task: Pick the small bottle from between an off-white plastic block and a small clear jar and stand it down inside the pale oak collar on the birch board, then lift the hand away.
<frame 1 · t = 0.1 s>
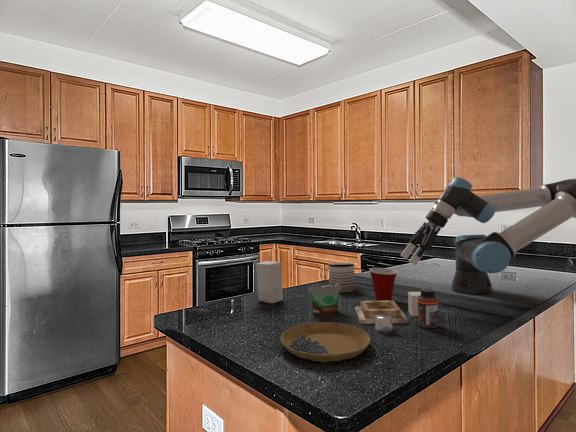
hand: (407, 260, 145), 15 cm above the counter, tool tilted 35°, fingers open, 13 cm apart
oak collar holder: (379, 316, 127), on the counter
off-white block: (417, 314, 128), on the counter
small clear jar: (383, 329, 114), on the counter
skincare box: (270, 301, 152), on the counter
supplement bottle: (428, 326, 116), on the counter
plant saucer: (325, 348, 103), on the counter
food container: (328, 314, 132), on the counter
off-white ribbed cylinder: (342, 289, 167), on the counter
plastic cup: (384, 300, 147), on the counter
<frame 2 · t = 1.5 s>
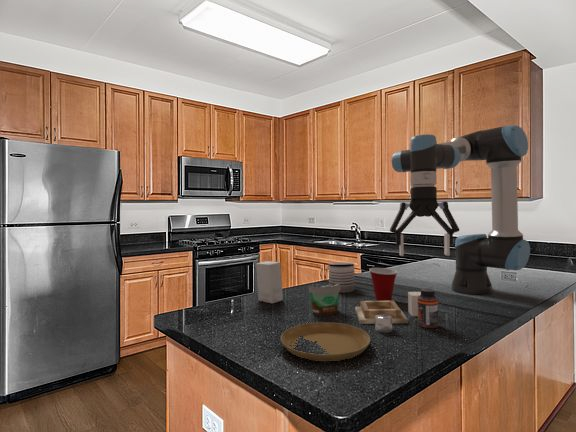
hand: (424, 255, 116), 22 cm above the counter, tool pointing down, fingers open, 13 cm apart
nothing on the counter moved.
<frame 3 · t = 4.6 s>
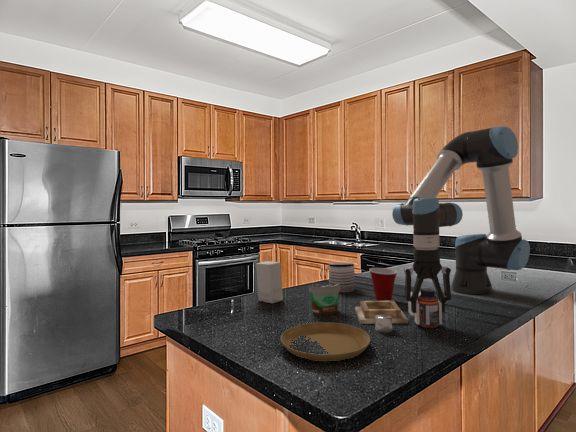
hand: (428, 322, 116), 1 cm above the counter, tool pointing down, fingers closed on supplement bottle, 6 cm apart
supplement bottle: (428, 326, 116), on the counter, touching gripper
everything else where it was.
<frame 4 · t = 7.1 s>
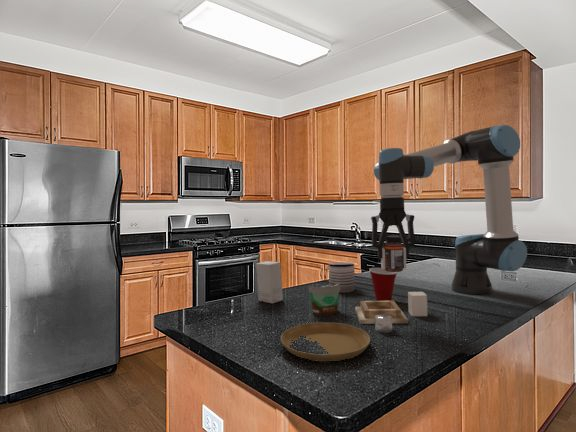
hand: (393, 267, 123), 17 cm above the counter, tool pointing down, fingers closed on supplement bottle, 6 cm apart
supplement bottle: (393, 271, 123), point 16 cm above the counter, touching gripper
everything else where it was.
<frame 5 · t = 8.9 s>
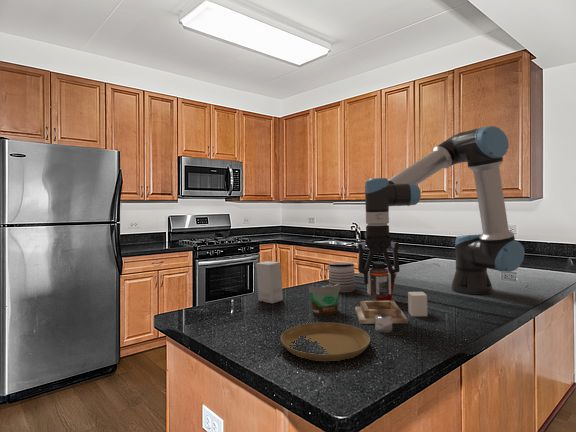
hand: (379, 293, 127), 8 cm above the counter, tool pointing down, fingers closed on supplement bottle, 6 cm apart
supplement bottle: (379, 296, 127), point 7 cm above the counter, touching gripper
everything else where it was.
when the fingers open (5 cm above the counter, at t = 10.1 s): supplement bottle drops 3 cm, resting on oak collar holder.
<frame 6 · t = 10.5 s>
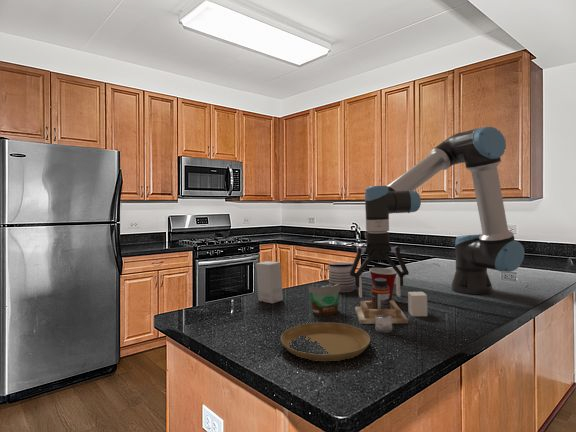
hand: (379, 296, 127), 7 cm above the counter, tool pointing down, fingers open, 12 cm apart
supplement bottle: (380, 312, 127), point 1 cm above the counter, touching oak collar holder
everything else where it was.
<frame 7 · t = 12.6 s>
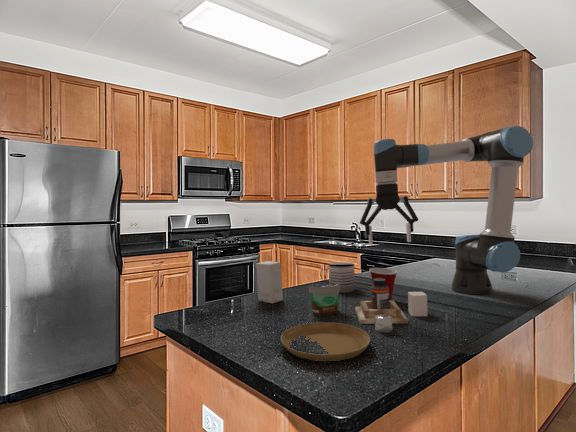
hand: (389, 242, 135), 24 cm above the counter, tool pointing down, fingers open, 13 cm apart
nothing on the counter moved.
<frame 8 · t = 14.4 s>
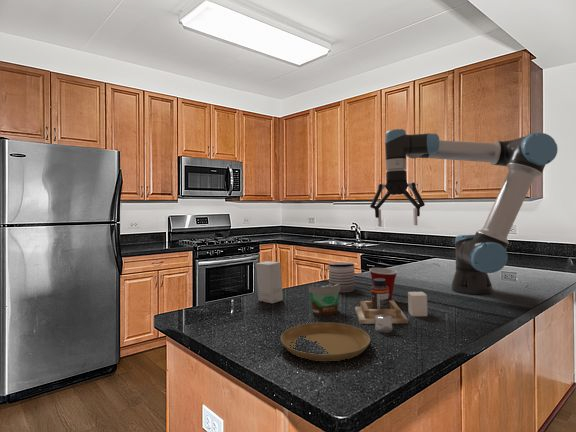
hand: (397, 225, 146), 29 cm above the counter, tool pointing down, fingers open, 13 cm apart
nothing on the counter moved.
at the end: supplement bottle 0.2 cm off-centre on the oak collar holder, point 1.0 cm above the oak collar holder's base; supplement bottle tilted 0°; the gripper is holding nothing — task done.
